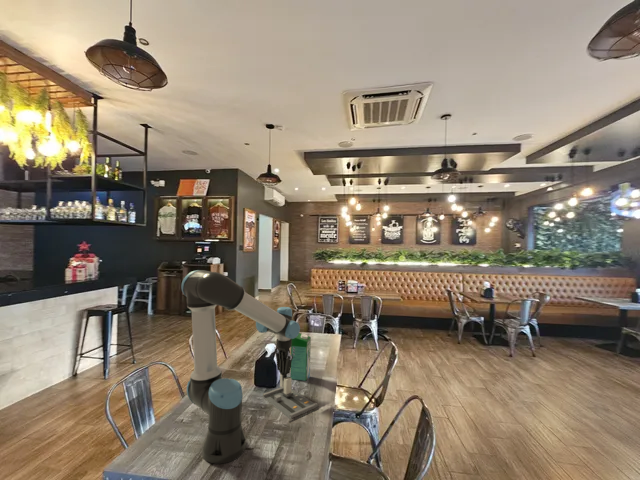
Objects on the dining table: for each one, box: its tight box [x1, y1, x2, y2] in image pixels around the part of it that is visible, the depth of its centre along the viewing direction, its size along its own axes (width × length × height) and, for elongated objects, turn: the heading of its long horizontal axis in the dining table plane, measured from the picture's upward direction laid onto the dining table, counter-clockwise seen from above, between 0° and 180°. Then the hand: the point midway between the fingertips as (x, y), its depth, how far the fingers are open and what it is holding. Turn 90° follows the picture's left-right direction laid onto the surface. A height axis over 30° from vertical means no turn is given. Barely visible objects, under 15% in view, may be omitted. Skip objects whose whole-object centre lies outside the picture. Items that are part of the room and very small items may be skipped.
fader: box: [282, 376, 293, 398], centre depth 144 cm, size 4×5×8 cm
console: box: [261, 387, 320, 423], centre depth 139 cm, size 16×24×4 cm, turn 41°
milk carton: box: [290, 332, 312, 382], centre depth 166 cm, size 9×9×25 cm
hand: (283, 386), depth 147 cm, fingers closed
